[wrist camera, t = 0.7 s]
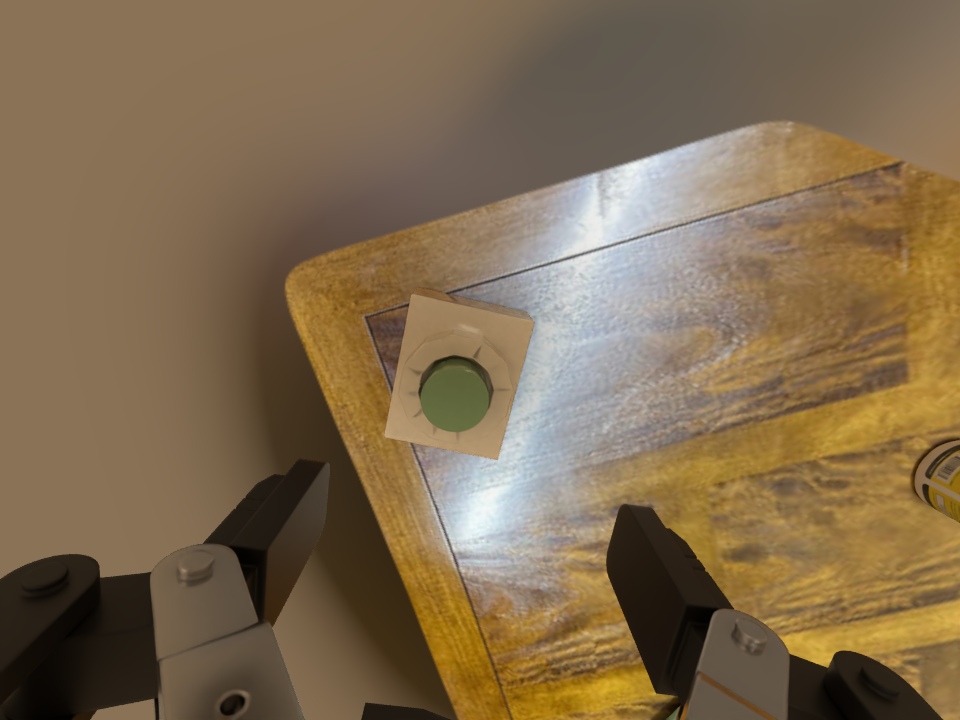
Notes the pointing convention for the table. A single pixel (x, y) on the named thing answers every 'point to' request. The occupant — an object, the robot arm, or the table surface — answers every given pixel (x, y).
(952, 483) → the pill bottle
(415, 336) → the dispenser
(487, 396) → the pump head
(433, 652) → the table surface
